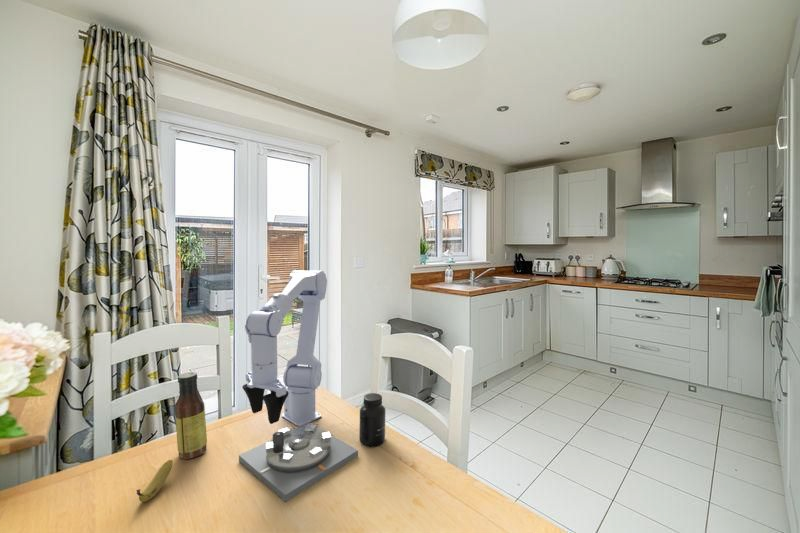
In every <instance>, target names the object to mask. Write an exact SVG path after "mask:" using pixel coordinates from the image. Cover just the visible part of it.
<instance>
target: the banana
mask: <svg viewBox="0 0 800 533" xmlns="http://www.w3.org/2000/svg"><path fill="white" fill-rule="evenodd" d="M160 466H161V467H159V469H158V470H157V471H156V474H155V475H154V476H153V477H152V480H151V481H150V483H149V484H148V485H147V486H146V488H145V489H144V490H143V491H142V492H141V488H139V489H136V490H135V491H136V495H137V496H138V500H139V501H140V502H141V503H146V502H149V501H150V500H151V499H153V498H154V497H155V496H156V495H157V494H158V492H159V491H160V490H161V488H162V487H163V486H164V484H165V482H166V480H167V479H168V477H169V476H170V473H171V471H172V469H173V466H174V462H173V459H168V460H166V461H165V462H164V463H163V464H162V465H160Z"/></svg>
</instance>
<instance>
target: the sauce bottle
mask: <svg viewBox="0 0 800 533" xmlns="http://www.w3.org/2000/svg"><path fill="white" fill-rule="evenodd" d="M197 380H198V373H197V372H196V371H190V372H184V373H181V374H179V375H178V376H177V382H178V385H179V386H178V388H179V392H178V393H179V396H178V399H177V401H176V402H175V404H174V409H175V415H174V416H175V428H176V429H175V430H176V431H175V432H176V442H177V451H178V457H179V458H181V459H184V460H190V459H195V458H197V457H199V456H201V455H202V454H204V453H205V452H206V451H207V446H208V445H207V444H208V436H207V435H208V434H207V422H206V410H205V409H206V407H205V402H204V401H203V398H202V396H201V393H200V392H199V389H198V381H197Z"/></svg>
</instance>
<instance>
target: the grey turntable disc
mask: <svg viewBox="0 0 800 533" xmlns="http://www.w3.org/2000/svg"><path fill="white" fill-rule="evenodd" d="M317 427H318V425H317V424H314V423H312V424H307V425H306V427H303V428H298V427H296V428H292V429H290V428H289V427H284V428H281V429H279V430H277V431H275V432H274V433H273V434H272V439H271V441H270V440H269V441H270V442H269V443H267V444H266V461H267V463H268V465H269V466H270V467H271V468H273V469H275V470H278V471H282V472H299V471H304V470H308V469H311V468H313V467H315V466H317V465H319V464H320V463H322V462H323V461H324V460H325V459H326V458H327V457H328V456H329V454H330V451H331V436H330V434H331V433H330V431H326V432H325V430H324V429H322V428H320V429H317ZM321 429H322V430H321ZM323 430H324V431H323Z"/></svg>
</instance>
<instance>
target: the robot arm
mask: <svg viewBox="0 0 800 533" xmlns="http://www.w3.org/2000/svg"><path fill="white" fill-rule="evenodd" d="M327 285H328V279H327V275H326V273H325V271H324V270H298V269H294V270H292V271H291V273H290V274H289V276H288V283H287V285H286V286H285V287H284V288H283V290H282V291H281V293H280V292H277V293H273V295H272V296H271V298H270V299H269V300H268V301H267V302H266V303H265V304H264V305H263V306H262V307H261V308H260V309H259V310H254V311H253V312H251V313H250V314H249V315H248V316H247V319H246V322H245V325H244V329H245V332H246V334H247V337H248V342H249V343H250V350H251V351H250V352H251V353H250V354H251V355H250V356H251V357H250V358H251V371H249V372H246V373H245V381H246V382H247V383H244V384H243V385H242V389H243V391H244V393H245V395H246V396H247V399H248V401H249V405H250V409H251V412H252V414H257V413H259V412H261V411H263V406H264V404H265V407H266V410H267V412H266V413H267V418H268V423H269V424H270V425H272V424H275V423H277V422H279V421H280V418H284V419H285V420H287V421H289V422H290V423H292V424H293V425H295V426H297V427H301V426H303V425H305V424H307V423H309V422H310V423H312V422H314V421H315V420H318V419H320V418H321V417H322V414H321V413H319V412H318V411H317V410H316V409H317V408H316V389H318V388H319V387H320V384H321V382H322V378H323V376H322V375H323V374H322V362H321V361H320V360H319V359H317V357H316V356H315V354H314V352H315V343H316V339H317V338H316V336H317V328H318V321H319V313H320V305H321V301H323V300H324V299H325V298H326V293H327ZM296 298H297V299H300V300H301V301H302V304H303V305H302V311H301V312H302V313H301V318H300V325H299V333H298V339H297V340H298V341H297V347H296V354H295V355H294V356H293V357H291V358H290V359H289V360H287V363H286V367H285V370H284V373H283V377H282V379H283V382H282V381H281V379H280V377H279V376H278V335H279V334H280V332H281V330H282V327H283V323H284V318H286V316H287V315H288V314H289V313H290V311H291V310H292V309H293V304H294V303H293V301H294V300H295V299H296ZM302 365H303V366H302ZM266 390H267V391H270V393H268V394H265V391H266ZM283 407H284V408H283ZM282 409H283V413H282ZM281 413H282V414H281Z"/></svg>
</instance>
